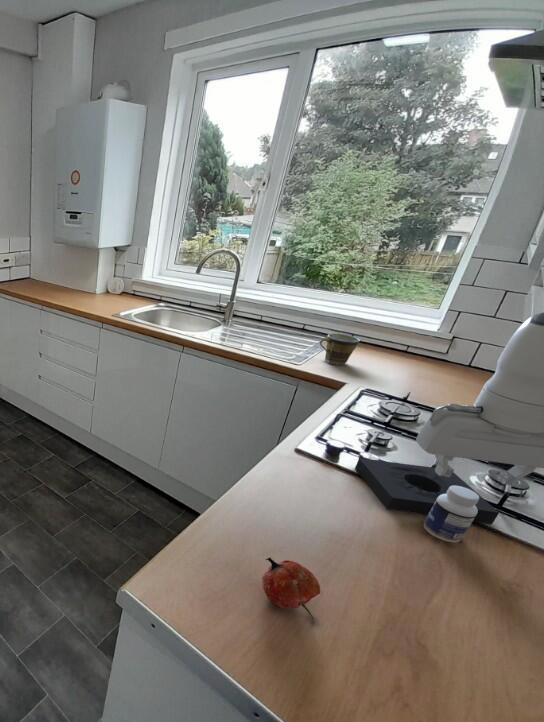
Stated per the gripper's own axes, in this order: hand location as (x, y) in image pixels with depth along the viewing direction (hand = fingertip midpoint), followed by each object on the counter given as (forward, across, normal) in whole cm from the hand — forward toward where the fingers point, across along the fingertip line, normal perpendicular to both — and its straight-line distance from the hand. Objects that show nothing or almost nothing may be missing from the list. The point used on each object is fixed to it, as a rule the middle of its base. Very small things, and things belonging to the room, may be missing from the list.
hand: (472, 478), depth 72 cm
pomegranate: (+14, -34, -23) cm, 43 cm away
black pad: (+13, +2, +12) cm, 18 cm away
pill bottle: (+13, 0, 0) cm, 13 cm away
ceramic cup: (+13, +16, +94) cm, 96 cm away
